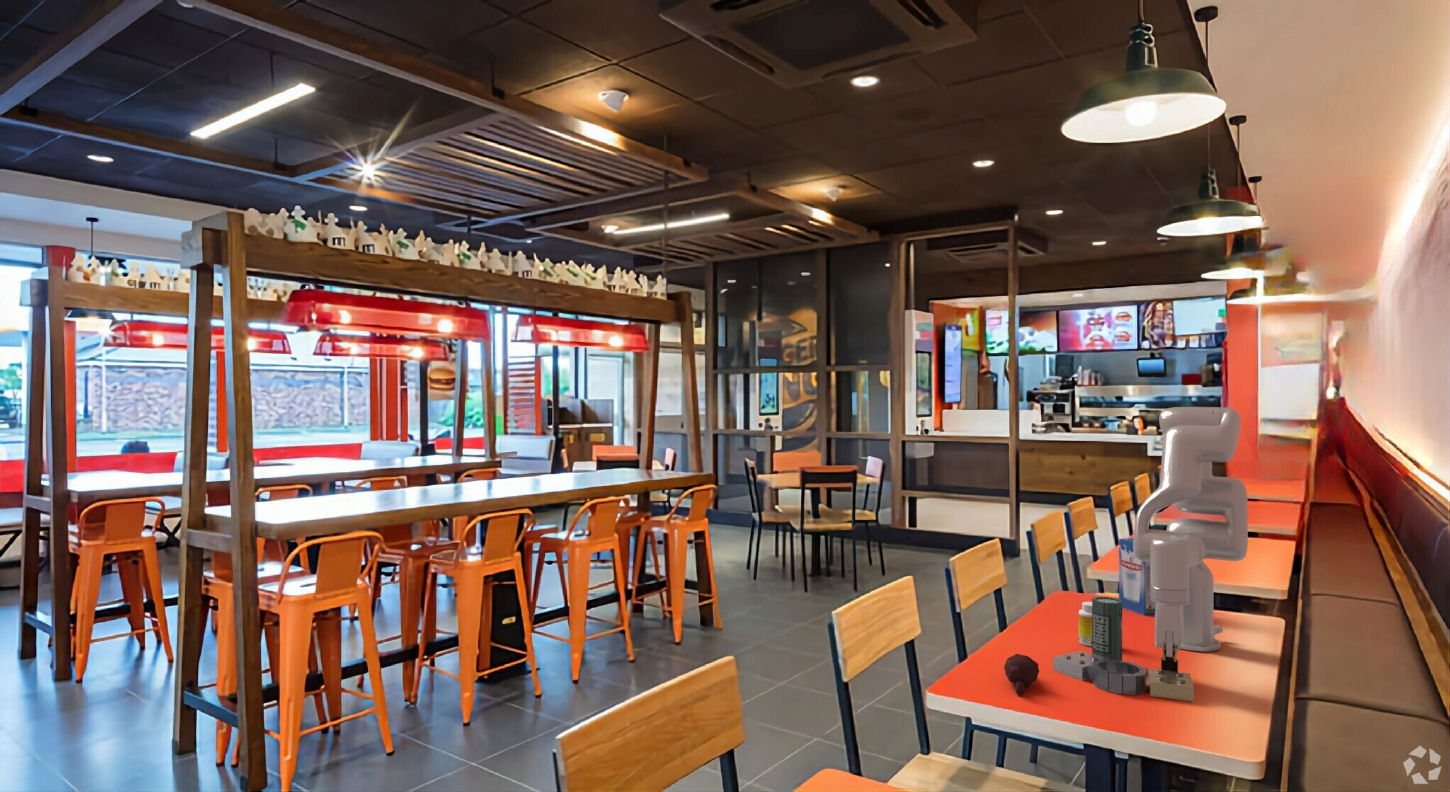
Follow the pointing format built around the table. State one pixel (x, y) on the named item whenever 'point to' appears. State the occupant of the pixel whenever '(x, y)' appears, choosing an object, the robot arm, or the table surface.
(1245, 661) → the table surface
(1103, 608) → the can
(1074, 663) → the leaf fixed
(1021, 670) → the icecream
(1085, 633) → the supplement bottle
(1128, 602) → the milk carton
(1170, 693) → the tan studded block
